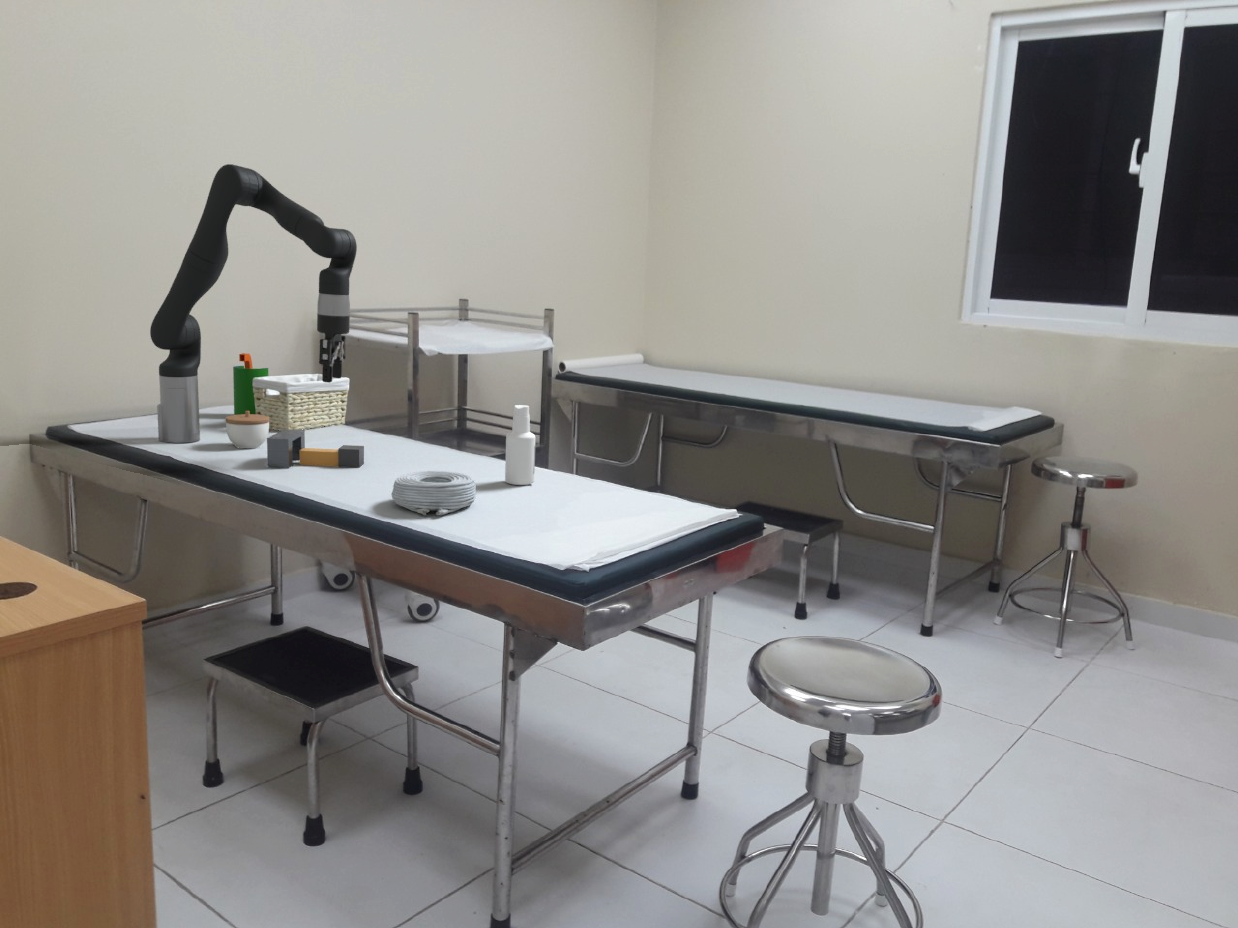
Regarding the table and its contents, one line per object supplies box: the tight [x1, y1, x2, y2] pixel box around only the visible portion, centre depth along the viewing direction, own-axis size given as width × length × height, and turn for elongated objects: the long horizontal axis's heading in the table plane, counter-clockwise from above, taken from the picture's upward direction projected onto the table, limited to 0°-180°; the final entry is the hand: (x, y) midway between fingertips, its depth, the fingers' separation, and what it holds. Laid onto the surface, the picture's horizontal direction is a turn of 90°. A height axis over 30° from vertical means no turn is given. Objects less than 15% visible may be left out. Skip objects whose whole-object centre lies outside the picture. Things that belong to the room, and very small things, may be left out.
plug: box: [299, 444, 365, 469], centre depth 240 cm, size 14×5×4 cm, turn 92°
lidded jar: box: [224, 411, 270, 449], centre depth 256 cm, size 11×11×9 cm
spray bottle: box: [504, 404, 536, 486], centre depth 229 cm, size 7×7×18 cm
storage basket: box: [253, 373, 351, 432], centre depth 290 cm, size 24×16×15 cm
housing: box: [266, 429, 306, 469], centre depth 239 cm, size 5×13×7 cm, turn 1°
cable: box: [391, 470, 477, 516], centre depth 207 cm, size 18×18×6 cm
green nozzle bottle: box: [232, 352, 269, 415], centre depth 298 cm, size 10×9×20 cm
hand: (332, 380), depth 241 cm, fingers open, 8 cm apart
